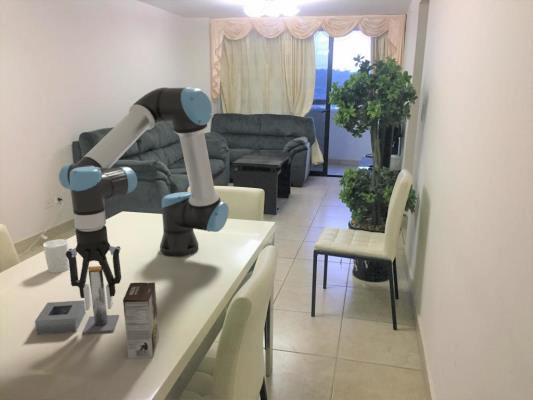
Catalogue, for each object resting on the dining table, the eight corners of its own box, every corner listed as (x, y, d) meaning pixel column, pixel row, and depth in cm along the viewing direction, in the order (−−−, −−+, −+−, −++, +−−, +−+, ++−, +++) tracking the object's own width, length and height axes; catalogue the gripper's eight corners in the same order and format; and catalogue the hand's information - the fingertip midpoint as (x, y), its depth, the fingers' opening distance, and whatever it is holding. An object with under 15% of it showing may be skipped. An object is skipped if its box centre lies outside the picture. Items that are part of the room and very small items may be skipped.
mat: (118, 316, 125) (118, 314, 125) (113, 331, 117) (113, 329, 117) (89, 318, 124) (89, 316, 123) (82, 334, 116) (82, 332, 116)
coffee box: (134, 338, 114) (130, 282, 110) (159, 336, 115) (155, 281, 111) (127, 359, 106) (121, 299, 101) (154, 358, 106) (149, 298, 102)
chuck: (85, 312, 127) (84, 300, 126) (76, 331, 117) (74, 318, 116) (49, 315, 125) (47, 302, 124) (36, 334, 116) (34, 321, 115)
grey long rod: (108, 319, 122) (103, 264, 118) (106, 325, 119) (100, 269, 114) (96, 320, 122) (89, 264, 117) (93, 326, 118) (86, 270, 114)
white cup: (61, 274, 151) (58, 248, 149) (41, 272, 153) (37, 246, 150) (75, 265, 159) (72, 240, 156) (56, 263, 160) (53, 238, 158)
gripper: (129, 220, 118) (135, 298, 124) (58, 223, 115) (68, 302, 121) (124, 230, 111) (131, 311, 117) (49, 233, 108) (60, 316, 114)
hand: (99, 306), depth 119 cm, fingers open, 5 cm apart
